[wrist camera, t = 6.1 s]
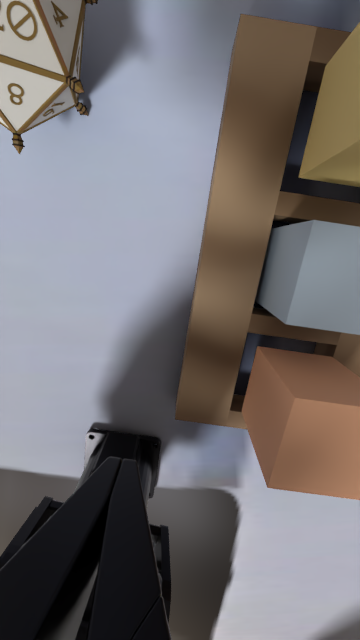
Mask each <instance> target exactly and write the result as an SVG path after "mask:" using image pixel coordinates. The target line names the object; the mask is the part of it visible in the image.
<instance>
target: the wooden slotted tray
mask: <svg viewBox="0 0 360 640" xmlns="http://www.w3.org/2000/svg"><path fill="white" fill-rule="evenodd" d="M351 33H352V32H346V31H340V30H334V29H328V28H322V27H316V26H310V25H304V24H298V23H292V22H286V21H280V20H274V19H268V18H263V17H257V16H251V15H245V14H241V16H240V20H239V24H238V28H237V32H236V37H235V41H234V45H233V49H232V55H231V62H230V68H229V74H228V80H227V87H226V93H225V99H224V105H223V112H222V118H221V124H220V130H219V137H218V143H217V149H216V155H215V162H214V168H213V174H212V180H211V187H210V193H209V199H208V205H207V212H206V218H205V224H204V230H203V237H202V243H201V249H200V255H199V262H198V268H197V274H196V280H195V287H194V293H193V299H192V305H191V312H190V318H189V324H188V330H187V337H186V343H185V349H184V355H183V362H182V368H181V374H180V380H179V387H178V393H177V399H176V412H175V420H183V421H190V422H197V423H205V424H212V425H219V426H227V427H234V428H241V429H247V426H246V423H245V420H244V417H243V414H242V407H243V403H244V399H245V396H243V395H236V394H234V389H235V385H236V380H237V376H238V372H239V367H240V363H241V358H242V354H243V350H244V345H245V341H246V337H247V332H249V333H256V334H263V335H270V336H277V337H283V338H290V339H297V340H304V341H311V342H317V343H316V346H315V349H314V353H313V354H316V355H323V356H330V357H333V358H334V359H336V360H337V361H338V362H340V363H341V364H342V365H344V366H345V367H346V368H348V369H349V370H350V371H352V372H353V373H354V374H356V375H357V376H358V377H360V335H356V334H349V333H343V332H336V331H329V330H322V329H315V328H308V327H301V326H294V325H287V324H285V323H283V322H282V321H281V320H280V319H278V318H277V317H276V316H274V315H273V314H272V313H270V312H269V311H268V310H267V309H261V308H254V307H253V306H254V301H255V297H256V293H257V288H258V284H259V280H260V275H261V271H262V266H263V262H264V258H265V253H266V249H267V244H268V240H269V236H270V231H271V227H272V223H273V220H274V221H280V222H287V223H293V224H296V223H301V222H306V221H310V220H318V221H325V222H331V223H338V224H344V225H351V226H357V227H360V203H354V202H348V201H341V200H335V199H328V198H322V197H316V196H309V195H303V194H296V193H290V192H283V191H280V187H281V183H282V179H283V174H284V170H285V166H286V161H287V157H288V152H289V148H290V144H291V139H292V135H293V131H294V126H295V122H296V117H297V113H298V109H299V104H300V100H301V95H302V91H303V90H305V91H311V92H317V93H319V91H320V86H321V82H322V78H323V74H324V70H325V66H326V65H327V64H328V62H329V61H330V60H331V58H332V57H333V56H334V55H335V53H336V52H337V51H338V49H339V48H340V47H341V46H342V44H343V43H344V42H345V40H346V39H347V38H348V36H349V35H350V34H351Z"/></svg>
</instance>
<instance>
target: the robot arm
mask: <svg viewBox="0 0 360 640" xmlns="http://www.w3.org/2000/svg"><path fill="white" fill-rule="evenodd" d="M91 435H94V436H91ZM153 443H156V444H157V445H155V444H153ZM160 447H161V441H160V439H159V438H156V437H148V436H141V435H133V434H126V433H119V432H111V431H104V430H96V429H91V430H89V431H88V432H87V434H86V442H85V462H84V471H83V474H82V476H81V478H80V480H79V482H78V485H77V487H76V489H75V491H74V493H73V494H72V495H71V496H70V497H69V498H68V499H67V501H66V502H65V503H64V502H60V501H55V500H53V498H51V497H46V496H45V497H44V499H43V500H42V502H41V503H40V504H39V506H38V507H35V509H34V510H33V512H32V513H31V514H30V516H29V517H28V519H27V520H26V522H25V523H24V524H23V526H22V527H21V528H20V530H19V531H18V533H17V534H16V535H15V537H14V538H13V540H12V541H11V542H10V544H9V545H8V547H7V548H6V549H5V551H4V552H3V554H2V555H1V556H0V640H172V639H171V635H170V630H169V626H168V622H169V613H170V602H171V575H170V555H169V533H168V526H164V525H160V526H157V525H153V524H149V521H148V516H147V504H148V498H152V497H153V493H154V487H155V480H156V474H157V467H158V460H159V453H160Z"/></svg>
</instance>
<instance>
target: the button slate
mask: <svg viewBox="0 0 360 640" xmlns="http://www.w3.org/2000/svg"><path fill="white" fill-rule="evenodd" d="M255 301H256V302H257V303H259V304H260V305H261V306H263V307H264V308H265V309H267V310H268V311H269V312H270V313H272V314H273V315H274V316H276V317H277V318H278V319H280V320H281V321H282V322H283V323H285V324H287V325H294V326H301V327H308V328H315V329H322V330H329V331H336V332H343V333H349V334H356V335H360V227H357V226H351V225H344V224H338V223H331V222H325V221H318V220H310V221H306V222H301V223H296V224H292V225H287V226H282V227H278V228H273V229H271V232H270V237H269V241H268V245H267V250H266V254H265V259H264V263H263V267H262V272H261V276H260V281H259V285H258V289H257V294H256V298H255Z"/></svg>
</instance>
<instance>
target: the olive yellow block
mask: <svg viewBox="0 0 360 640" xmlns="http://www.w3.org/2000/svg"><path fill="white" fill-rule="evenodd" d="M298 178H304V179H310V180H317V181H323V182H329V183H336V184H342V185H349V186H355V187H360V22H359V24H358V25H357V26H356V27H355V29H354V30H353V31H352V33H351V34H350V35H349V36H348V38H347V39H346V40H345V42H344V43H343V44H342V46H341V47H340V48H339V49H338V51H337V52H336V53H335V55H334V56H333V57H332V58H331V60H330V61H329V62H328V64H327V65H326V66H325V70H324V74H323V78H322V82H321V86H320V91H319V95H318V99H317V103H316V107H315V111H314V115H313V119H312V123H311V128H310V132H309V136H308V140H307V144H306V148H305V152H304V156H303V160H302V165H301V169H300V173H299V177H298Z"/></svg>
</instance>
